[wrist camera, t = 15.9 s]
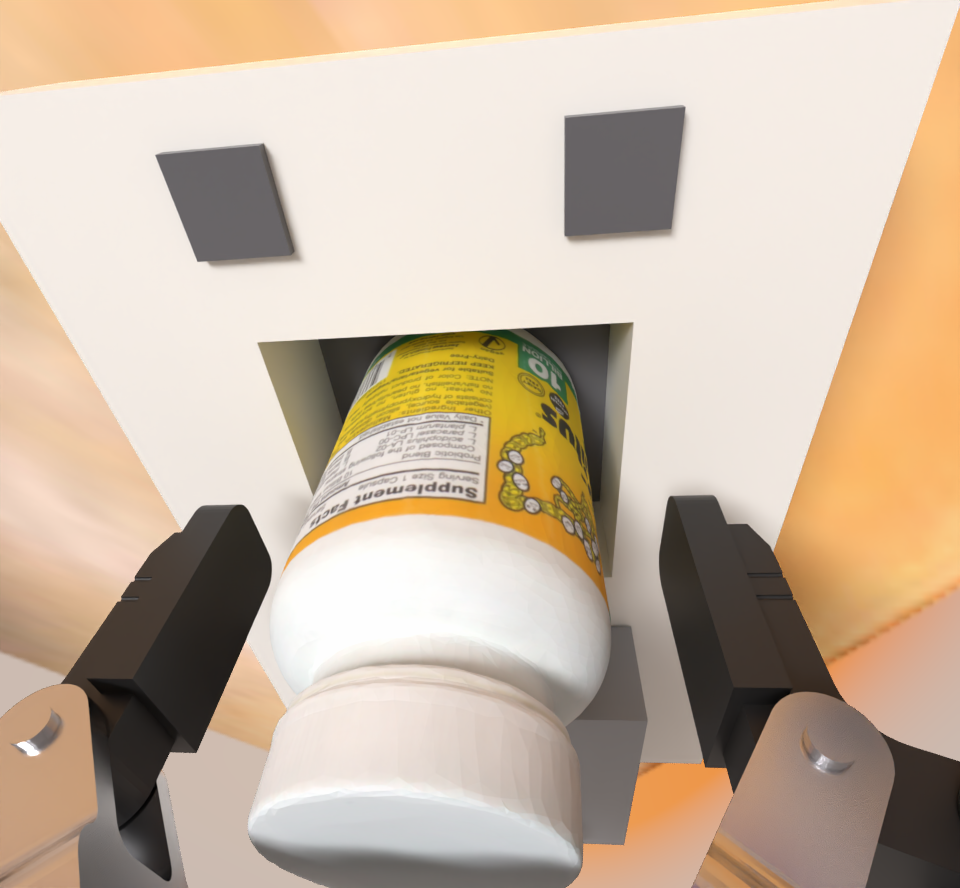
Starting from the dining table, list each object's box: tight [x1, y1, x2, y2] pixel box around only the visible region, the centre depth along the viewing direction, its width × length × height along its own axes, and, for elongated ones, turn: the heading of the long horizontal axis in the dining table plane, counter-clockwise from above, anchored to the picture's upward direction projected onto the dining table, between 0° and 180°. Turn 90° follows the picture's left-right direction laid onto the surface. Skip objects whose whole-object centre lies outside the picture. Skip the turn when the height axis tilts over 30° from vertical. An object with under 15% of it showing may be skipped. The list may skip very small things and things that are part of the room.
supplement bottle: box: [248, 328, 611, 888], centre depth 10 cm, size 5×5×10 cm
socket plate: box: [0, 0, 960, 764], centre depth 15 cm, size 14×21×3 cm, turn 5°
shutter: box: [566, 626, 648, 845], centre depth 16 cm, size 8×8×3 cm
